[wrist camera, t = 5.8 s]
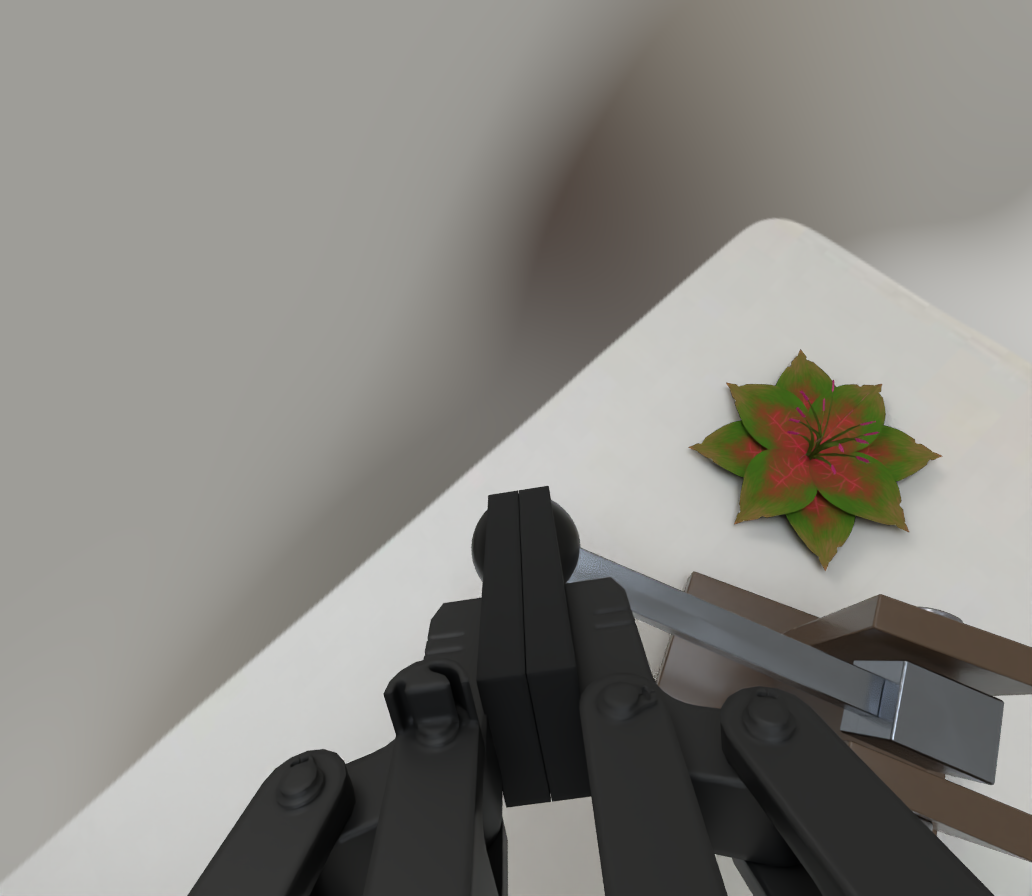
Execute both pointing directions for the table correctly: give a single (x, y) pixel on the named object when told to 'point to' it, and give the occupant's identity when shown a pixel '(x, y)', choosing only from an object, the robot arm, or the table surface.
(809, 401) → the lily flower
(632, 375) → the table surface
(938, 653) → the brown lever base
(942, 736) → the lever handle
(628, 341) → the table surface
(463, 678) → the robot arm
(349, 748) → the table surface
